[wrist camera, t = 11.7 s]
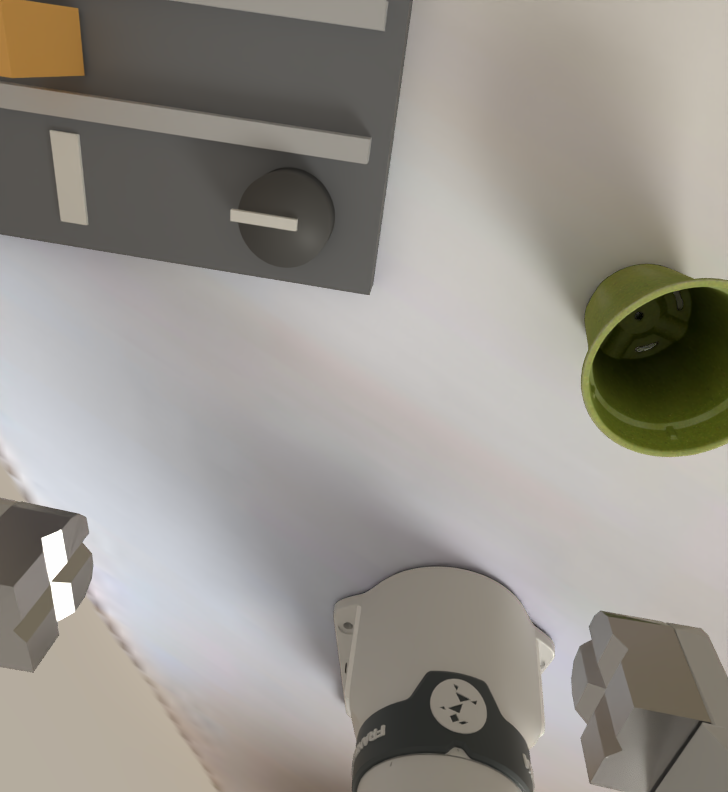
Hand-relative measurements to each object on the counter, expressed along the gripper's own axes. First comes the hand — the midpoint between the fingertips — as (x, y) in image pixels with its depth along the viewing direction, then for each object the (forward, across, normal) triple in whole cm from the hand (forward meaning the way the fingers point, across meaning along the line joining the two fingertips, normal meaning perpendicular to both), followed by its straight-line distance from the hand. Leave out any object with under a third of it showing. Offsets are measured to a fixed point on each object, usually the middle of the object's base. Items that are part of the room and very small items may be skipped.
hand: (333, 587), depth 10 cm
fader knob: (+27, +20, -6) cm, 34 cm away
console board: (+29, +16, -6) cm, 34 cm away
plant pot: (+29, -14, +4) cm, 33 cm away
